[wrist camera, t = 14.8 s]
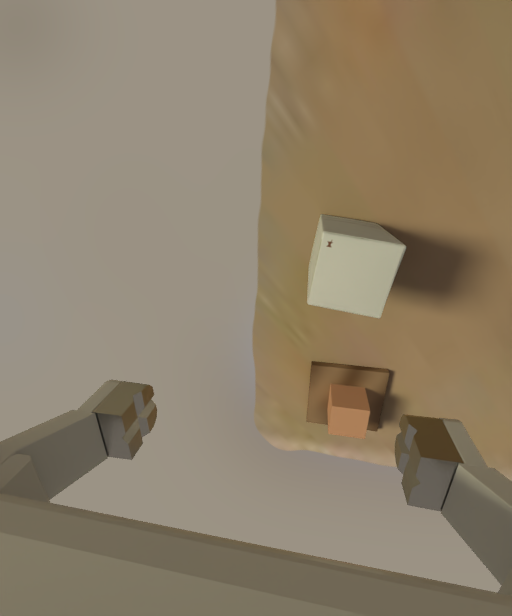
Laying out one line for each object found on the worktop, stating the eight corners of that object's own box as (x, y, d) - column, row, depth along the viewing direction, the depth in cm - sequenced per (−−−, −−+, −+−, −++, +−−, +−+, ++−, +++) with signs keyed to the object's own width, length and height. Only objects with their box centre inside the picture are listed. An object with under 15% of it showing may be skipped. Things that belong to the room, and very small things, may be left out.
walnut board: (388, 369, 45) (389, 373, 44) (375, 426, 49) (377, 431, 48) (311, 361, 47) (311, 365, 46) (306, 417, 51) (306, 421, 50)
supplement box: (307, 269, 41) (303, 304, 30) (320, 212, 38) (322, 228, 27) (362, 280, 40) (380, 321, 29) (380, 223, 37) (408, 244, 26)
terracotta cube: (365, 387, 46) (370, 410, 41) (360, 413, 48) (364, 438, 43) (330, 383, 46) (332, 406, 42) (327, 409, 48) (328, 433, 44)
